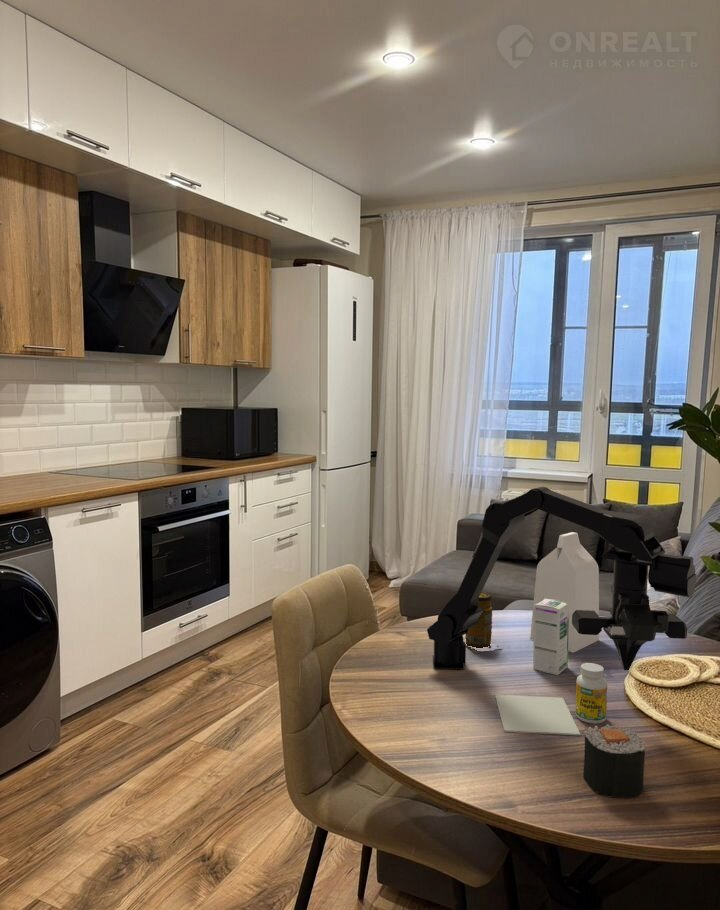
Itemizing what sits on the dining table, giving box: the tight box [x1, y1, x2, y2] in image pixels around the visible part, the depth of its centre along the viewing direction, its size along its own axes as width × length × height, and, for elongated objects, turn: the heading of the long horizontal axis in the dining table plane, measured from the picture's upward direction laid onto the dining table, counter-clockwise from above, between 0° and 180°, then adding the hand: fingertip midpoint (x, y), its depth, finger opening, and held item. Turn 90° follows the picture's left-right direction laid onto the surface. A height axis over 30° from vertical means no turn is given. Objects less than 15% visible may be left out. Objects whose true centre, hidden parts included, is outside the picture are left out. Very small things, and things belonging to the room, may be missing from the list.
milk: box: [529, 531, 600, 653], centre depth 161 cm, size 12×12×26 cm
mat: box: [494, 694, 581, 736], centre depth 124 cm, size 13×14×1 cm
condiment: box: [463, 591, 498, 653], centre depth 157 cm, size 7×8×12 cm
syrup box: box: [532, 599, 569, 676], centre depth 144 cm, size 6×6×14 cm
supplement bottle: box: [575, 662, 608, 725], centre depth 122 cm, size 5×5×10 cm
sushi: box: [582, 724, 647, 799], centre depth 102 cm, size 8×8×8 cm
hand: (625, 669), depth 122 cm, fingers closed
